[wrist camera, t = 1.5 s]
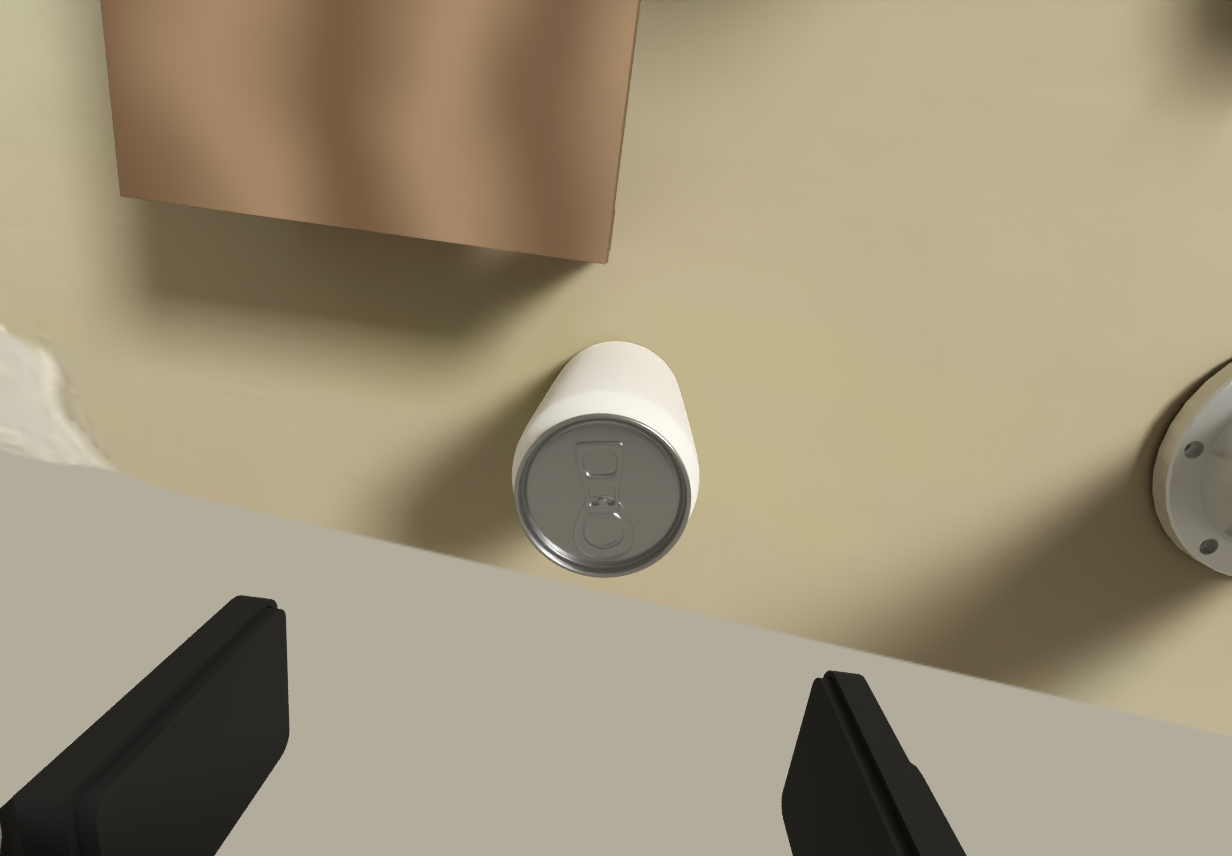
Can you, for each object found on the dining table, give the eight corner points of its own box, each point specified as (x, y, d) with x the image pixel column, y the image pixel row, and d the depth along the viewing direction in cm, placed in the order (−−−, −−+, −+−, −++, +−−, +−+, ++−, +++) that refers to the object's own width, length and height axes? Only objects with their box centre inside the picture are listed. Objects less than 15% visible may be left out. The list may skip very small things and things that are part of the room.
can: (557, 464, 32) (509, 591, 20) (548, 341, 30) (490, 403, 18) (681, 462, 31) (705, 588, 20) (680, 336, 29) (705, 397, 18)
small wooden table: (669, -163, 24) (685, -392, 15) (615, 257, 28) (604, 264, 20) (265, -220, 24) (51, -482, 15) (277, 210, 28) (120, 195, 20)
